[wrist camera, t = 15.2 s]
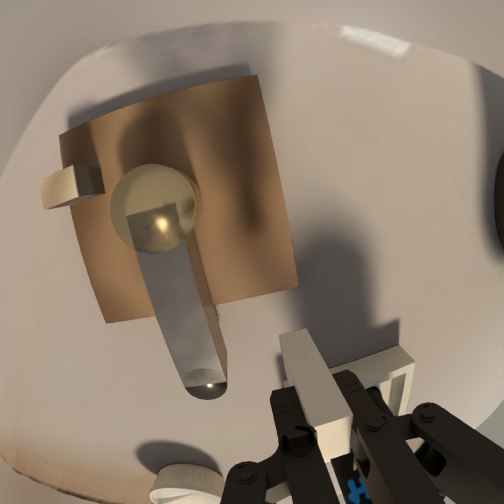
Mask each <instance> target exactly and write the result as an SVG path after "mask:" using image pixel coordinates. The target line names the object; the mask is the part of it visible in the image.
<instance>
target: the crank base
mask: <svg viewBox="0 0 504 504" xmlns="http://www.w3.org/2000/svg"><path fill="white" fill-rule="evenodd" d="M59 141H60V150H61V158H62V165H63V170H60V171H58V172H56V173H54V174H52V175H50V176H48V177H46V178H44V179H42V180H40V181H39V184H40V190H41V196H42V201H43V207H44V210H48V209H53V208H58V207H63V206H69V205H70V209H71V214H72V218H73V223H74V227H75V231H76V235H77V238H78V242H79V246H80V249H81V253H82V256H83V260H84V263H85V266H86V269H87V272H88V275H89V279H90V281H91V284H92V287H93V290H94V293H95V296H96V298H97V301H98V304H99V306H100V309H101V312H102V314H103V317H104V319H105V322H106V324H107V323H114V322H121V321H127V320H133V319H140V318H146V317H152V316H156V315H155V312H154V309H153V306H152V303H151V300H150V297H149V294H148V291H147V288H146V285H145V282H144V279H143V276H142V272H141V269H140V266H139V262H138V259H137V255H136V252H135V250H134V249H132V248H130V247H129V246H128V245H126V244H125V243H124V242H123V241H122V240H121V239H120V237H119V236H118V235H117V233H116V231H115V229H114V227H113V224H112V221H111V216H110V202H111V197H112V194H113V191H114V189H115V187H116V185H117V184H118V182H119V181H120V180H121V178H122V177H123V176H124V175H125V174H127V173H128V172H129V171H131V170H132V169H134V168H136V167H139V166H142V165H146V164H158V165H163V166H167V167H170V168H174V169H177V170H180V171H182V172H184V173H186V174H187V175H189V176H190V177H191V178H192V179H193V180H194V182H195V183H196V185H197V186H198V188H199V191H200V194H201V198H202V210H201V214H200V217H199V220H198V222H197V223H196V225H195V226H194V232H195V236H196V240H197V244H198V248H199V252H200V256H201V260H202V264H203V268H204V272H205V276H206V280H207V283H208V287H209V291H210V295H211V298H212V302H213V305H217V304H222V303H227V302H232V301H237V300H241V299H246V298H251V297H255V296H260V295H265V294H269V293H273V292H278V291H282V290H287V289H291V288H295V287H299V284H298V278H297V272H296V265H295V259H294V253H293V247H292V241H291V236H290V230H289V224H288V219H287V213H286V208H285V202H284V197H283V192H282V187H281V182H280V177H279V172H278V167H277V162H276V157H275V152H274V147H273V143H272V138H271V133H270V129H269V124H268V120H267V115H266V111H265V106H264V102H263V98H262V94H261V89H260V85H259V81H258V77H257V75H252V76H246V77H239V78H233V79H228V80H222V81H217V82H212V83H207V84H203V85H198V86H194V87H190V88H186V89H182V90H178V91H174V92H171V93H167V94H163V95H160V96H157V97H153V98H150V99H147V100H144V101H141V102H138V103H135V104H132V105H129V106H126V107H124V108H121V109H118V110H115V111H113V112H110V113H108V114H105V115H103V116H100V117H98V118H95V119H93V120H91V121H88V122H86V123H84V124H82V125H80V126H77V127H75V128H73V129H71V130H69V131H67V132H65V133H63V134H61V135H59Z"/></svg>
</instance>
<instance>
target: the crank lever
mask: <svg viewBox="0 0 504 504" xmlns="http://www.w3.org/2000/svg"><path fill="white" fill-rule="evenodd" d="M201 210H202V198H201V194H200V191H199V188H198V186H197V185H196V183H195V182H194V180H193V179H192V178H191V177H190V176H189V175H187V174H186V173H184V172H182V171H180V170H177V169H174V168H170V167H167V166H163V165H158V164H146V165H142V166H139V167H136V168H134V169H132V170H131V171H129V172H128V173H127V174H125V175H124V176H123V177H122V178H121V180H120V181H119V182H118V184H117V185H116V187H115V189H114V191H113V194H112V197H111V202H110V216H111V221H112V224H113V227H114V229H115V231H116V233H117V235H118V236H119V237H120V239H121V240H122V241H123V242H124V243H125V244H126V245H128V246H129V247H130V248H132V249H134V250H135V252H136V255H137V259H138V262H139V266H140V269H141V272H142V276H143V279H144V282H145V285H146V288H147V291H148V294H149V297H150V300H151V303H152V306H153V309H154V312H155V315H156V317H157V320H158V323H159V326H160V328H161V331H162V334H163V336H164V339H165V341H166V344H167V347H168V349H169V352H170V354H171V356H172V359H173V361H174V364H175V366H176V368H177V371H178V373H179V375H180V378H181V380H182V382H183V384H184V387H185V389H186V390H187V391H188V392H189V393H190V394H191V395H192V396H194V397H196V398H199V399H204V400H212V399H216V398H218V397H220V396H222V395H223V394H224V393H225V392H226V389H227V350H226V347H225V343H224V340H223V337H222V333H221V330H220V326H219V323H218V320H217V316H216V313H215V309H214V305H213V302H212V298H211V295H210V291H209V287H208V283H207V280H206V276H205V272H204V268H203V264H202V260H201V256H200V252H199V248H198V244H197V240H196V236H195V232H194V226H195V225H196V223H197V222H198V220H199V217H200V214H201Z"/></svg>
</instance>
